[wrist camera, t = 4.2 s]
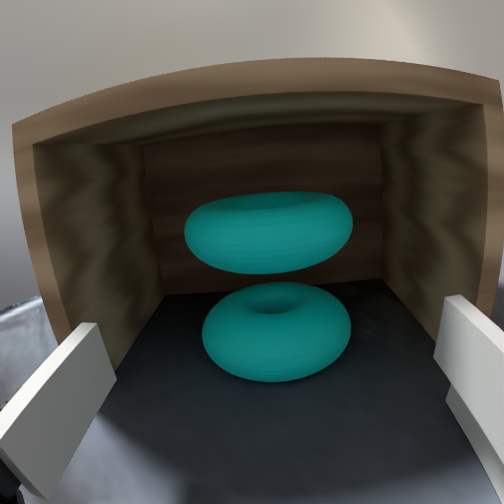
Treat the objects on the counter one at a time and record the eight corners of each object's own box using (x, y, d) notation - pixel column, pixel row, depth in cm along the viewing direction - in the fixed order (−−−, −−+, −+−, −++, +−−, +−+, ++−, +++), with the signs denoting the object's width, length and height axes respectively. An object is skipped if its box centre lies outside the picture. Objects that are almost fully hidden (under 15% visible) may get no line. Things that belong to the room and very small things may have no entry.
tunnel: (476, 367, 15) (499, 80, 10) (80, 394, 17) (12, 124, 12) (389, 271, 32) (385, 112, 27) (156, 289, 33) (133, 134, 29)
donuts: (323, 185, 24) (382, 204, 14) (327, 304, 26) (371, 375, 17) (191, 198, 23) (165, 225, 14) (209, 319, 26) (201, 400, 16)
